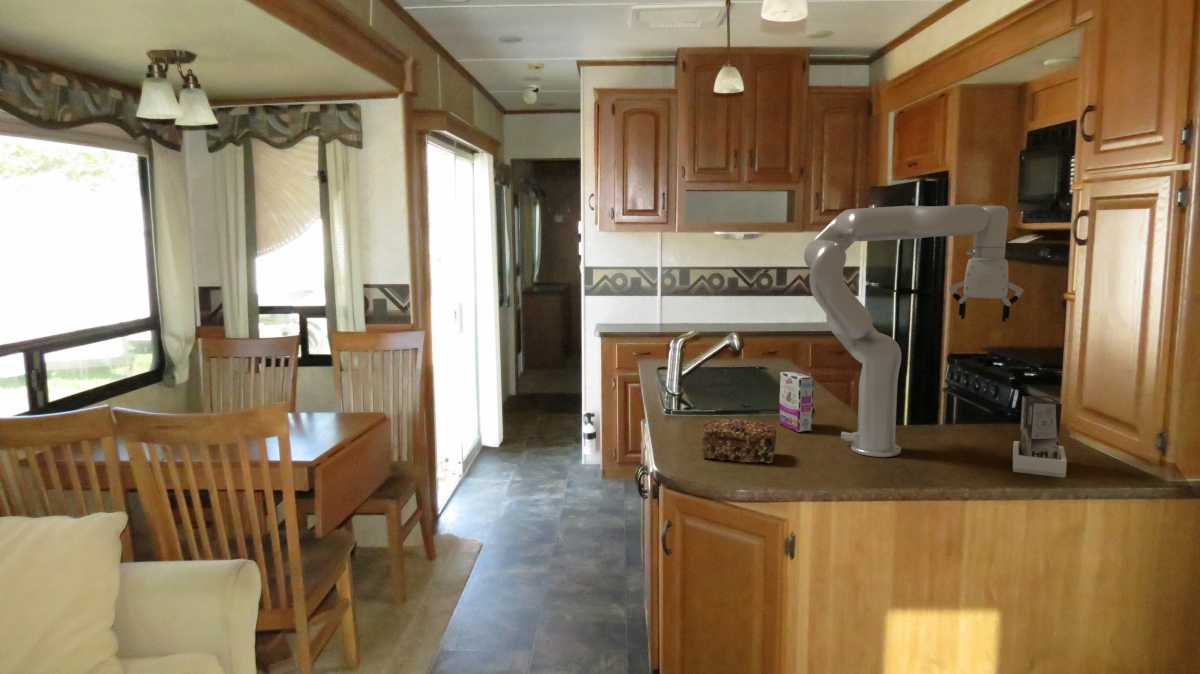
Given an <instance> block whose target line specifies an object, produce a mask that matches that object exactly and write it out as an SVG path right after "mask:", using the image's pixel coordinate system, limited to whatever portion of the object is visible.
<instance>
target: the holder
mask: <svg viewBox="0 0 1200 674" xmlns="http://www.w3.org/2000/svg"><path fill="white" fill-rule="evenodd" d="M1019 447H1020V440H1019V441H1016V440H1014V441H1013V447H1012V448H1013V449H1012V472H1015V473H1023V474H1029V475H1038V476H1039V475H1040V476H1047V477H1054V478H1055V477H1056V478H1062V479H1064V478H1066V477H1067V465H1068V462H1067V461H1068V460H1067V456H1066V453H1065V447H1064V446H1063V445H1058V458H1057V459H1049V458H1040V457H1031V456H1022V455H1019Z"/></svg>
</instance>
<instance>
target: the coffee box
mask: <svg viewBox="0 0 1200 674" xmlns="http://www.w3.org/2000/svg"><path fill="white" fill-rule="evenodd" d="M1021 398H1022V399H1021V400H1022V401H1021V414H1020V415H1021V417H1020V431H1019V432H1020V433H1019V442H1020V447H1019V455H1022V456H1031V457H1040V458H1049V459H1057V458H1058V446H1060V445H1059V442H1060V431H1061V420H1062V406H1063V404H1062V403H1061V402H1060V401H1058V400H1056V399H1054V398H1052V397H1051V396H1049V395H1047V396H1046V395H1022V396H1021Z"/></svg>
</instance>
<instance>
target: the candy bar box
mask: <svg viewBox="0 0 1200 674" xmlns="http://www.w3.org/2000/svg"><path fill="white" fill-rule="evenodd" d="M813 404H814V377H813V376H810V375H806V374H803V373H800V372H796V371H793V370H791V371H782V372H779V410H778V411H779V415H778V416H779V418H778V424H779V423H781V424H783V425H785V426H787V427H789V428H791V429H793V430H795V431H794V432H796V431H797V432H796V433H798V432H802V433H806V432H805V431H811V432H812V431H813V408H814V405H813ZM787 427H786V428H787ZM789 428H788V429H789ZM791 429H790V430H791ZM793 430H792V431H793Z"/></svg>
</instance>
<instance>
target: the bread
mask: <svg viewBox="0 0 1200 674" xmlns="http://www.w3.org/2000/svg"><path fill="white" fill-rule="evenodd" d="M701 436H702V437H701V443H702V444H701V446H702V448H701V450H702V457H703V459H706V458H708V459H707V460H710V459H715V460H717V459H718V460H719V459H721V460H720V461H723V460H733V461H732V462H734V461H751V463H758V462H770V463H769V464H772V463H773V461H774V457H775V450H776V441H777V428H775V426H773V424H770V423H764V422H761V421H753V420H750V419H736V418H734V419H733V418H732V419H731V418H728V419H723V418H722V419H721V418H711V419H709V420H707V421H705V423H704V424H703V427H702V432H701Z"/></svg>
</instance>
